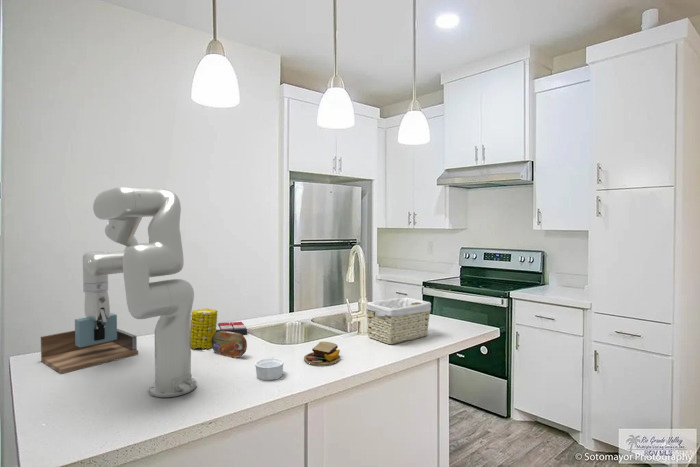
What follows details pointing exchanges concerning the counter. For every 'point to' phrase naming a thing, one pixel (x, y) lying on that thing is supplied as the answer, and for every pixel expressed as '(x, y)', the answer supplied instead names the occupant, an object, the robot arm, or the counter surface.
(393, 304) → the storage basket
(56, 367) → the shelf
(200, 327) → the food
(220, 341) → the tin
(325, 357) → the toy sandwich meal
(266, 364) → the ramekin
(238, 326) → the red white box
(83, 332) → the book
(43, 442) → the counter surface
